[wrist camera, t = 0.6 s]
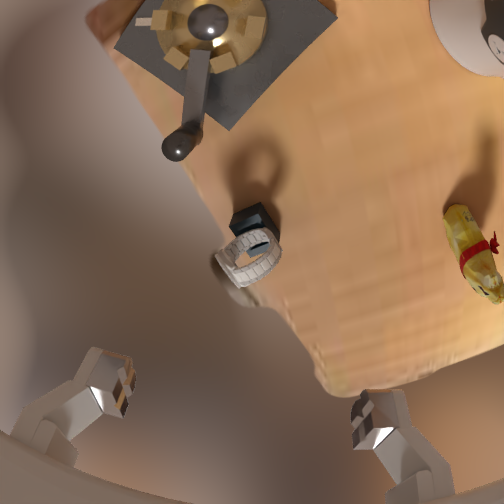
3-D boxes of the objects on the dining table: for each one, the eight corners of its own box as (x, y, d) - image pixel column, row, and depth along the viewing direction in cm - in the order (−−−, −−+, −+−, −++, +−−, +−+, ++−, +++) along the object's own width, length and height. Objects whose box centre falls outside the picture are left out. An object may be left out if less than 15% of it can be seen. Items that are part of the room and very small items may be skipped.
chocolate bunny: (452, 263, 43) (485, 336, 31) (434, 209, 38) (477, 282, 27) (487, 245, 40) (527, 313, 28) (473, 189, 35) (527, 254, 24)
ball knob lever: (174, -22, 24) (139, -36, 17) (276, -15, 23) (270, -34, 17) (156, 129, 35) (121, 153, 28) (246, 143, 35) (231, 171, 28)
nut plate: (210, -65, 21) (205, -70, 19) (336, 19, 27) (338, 17, 25) (121, 47, 31) (112, 48, 29) (232, 126, 36) (228, 131, 34)
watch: (221, 219, 44) (201, 270, 36) (272, 196, 41) (263, 245, 32) (242, 249, 47) (228, 303, 38) (291, 229, 44) (288, 283, 35)
